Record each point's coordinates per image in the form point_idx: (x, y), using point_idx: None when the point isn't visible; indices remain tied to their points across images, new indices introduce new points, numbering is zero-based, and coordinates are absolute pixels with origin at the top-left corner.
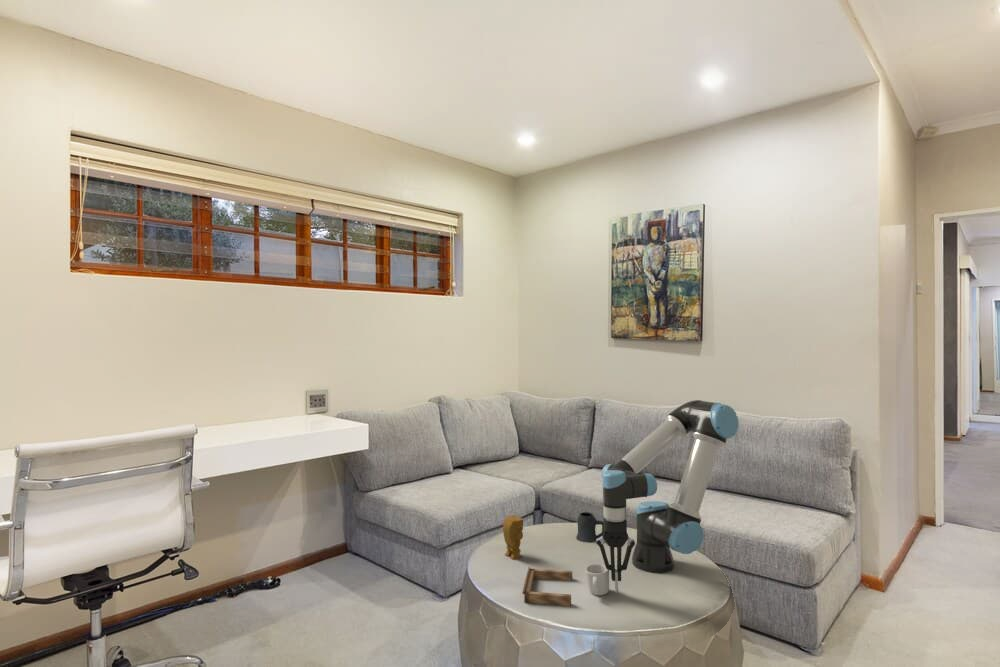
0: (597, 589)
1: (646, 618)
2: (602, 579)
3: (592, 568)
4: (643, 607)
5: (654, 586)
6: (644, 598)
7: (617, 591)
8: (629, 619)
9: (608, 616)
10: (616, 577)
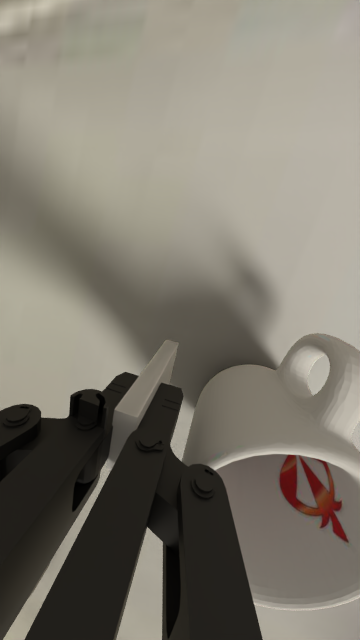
0: (291, 366)
1: (92, 121)
2: (258, 406)
3: (287, 562)
4: (83, 238)
5: (12, 400)
6: (63, 318)
7: (168, 342)
8: (180, 105)
9: (291, 142)
10: (144, 385)
